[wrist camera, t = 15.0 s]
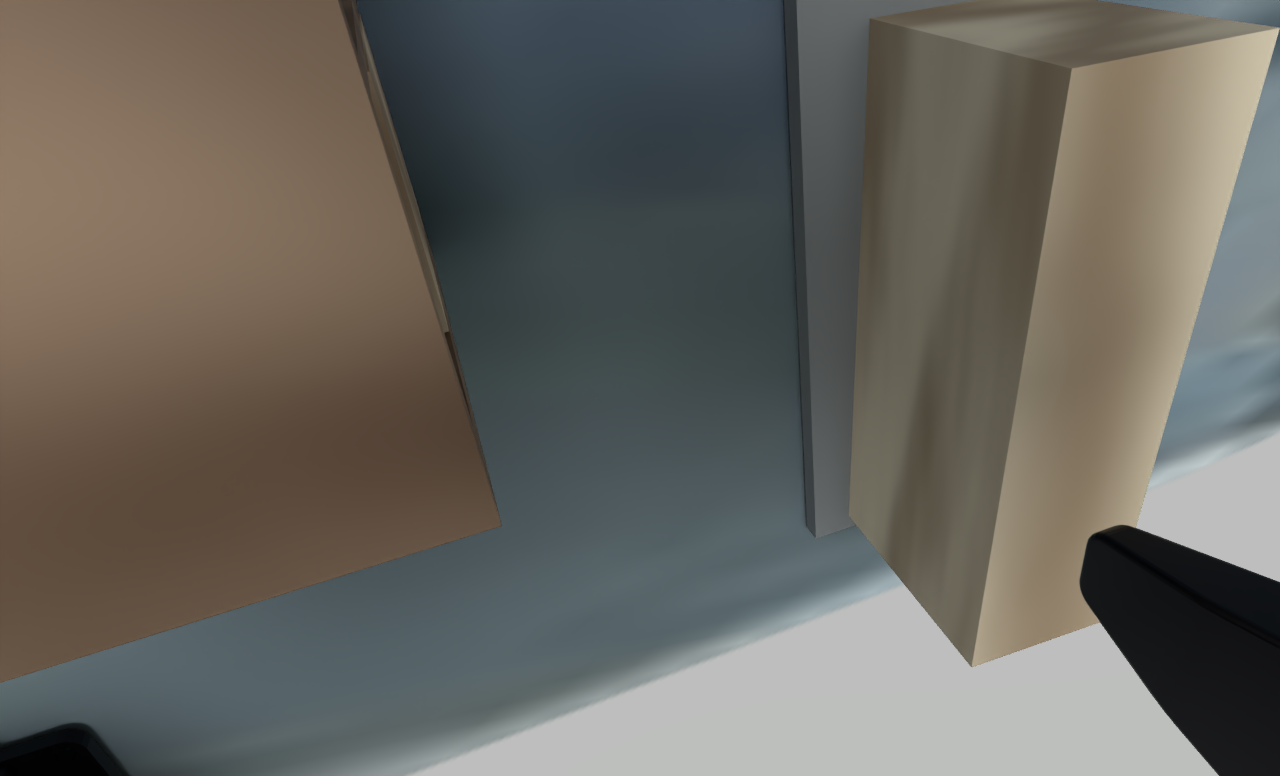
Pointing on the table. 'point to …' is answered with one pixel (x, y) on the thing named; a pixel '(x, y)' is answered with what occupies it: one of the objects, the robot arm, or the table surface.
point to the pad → (829, 228)
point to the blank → (1031, 287)
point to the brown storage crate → (210, 322)
